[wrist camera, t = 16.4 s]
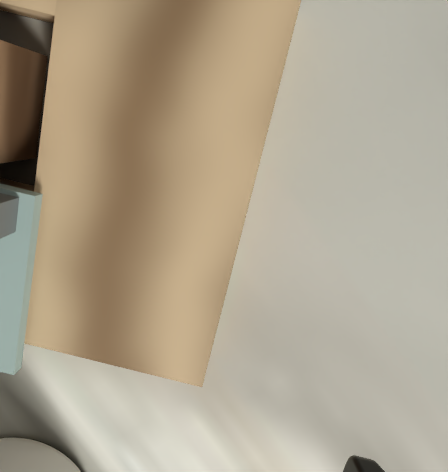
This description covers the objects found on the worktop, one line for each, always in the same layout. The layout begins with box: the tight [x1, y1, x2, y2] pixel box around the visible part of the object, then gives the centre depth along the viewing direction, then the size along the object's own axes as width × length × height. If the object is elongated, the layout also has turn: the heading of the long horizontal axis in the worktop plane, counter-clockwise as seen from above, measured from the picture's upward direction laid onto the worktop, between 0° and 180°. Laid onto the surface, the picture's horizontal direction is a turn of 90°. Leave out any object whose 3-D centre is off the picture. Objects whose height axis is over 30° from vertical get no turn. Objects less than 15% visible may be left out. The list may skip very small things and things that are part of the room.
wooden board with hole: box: [0, 0, 301, 387], centre depth 18 cm, size 20×16×2 cm
